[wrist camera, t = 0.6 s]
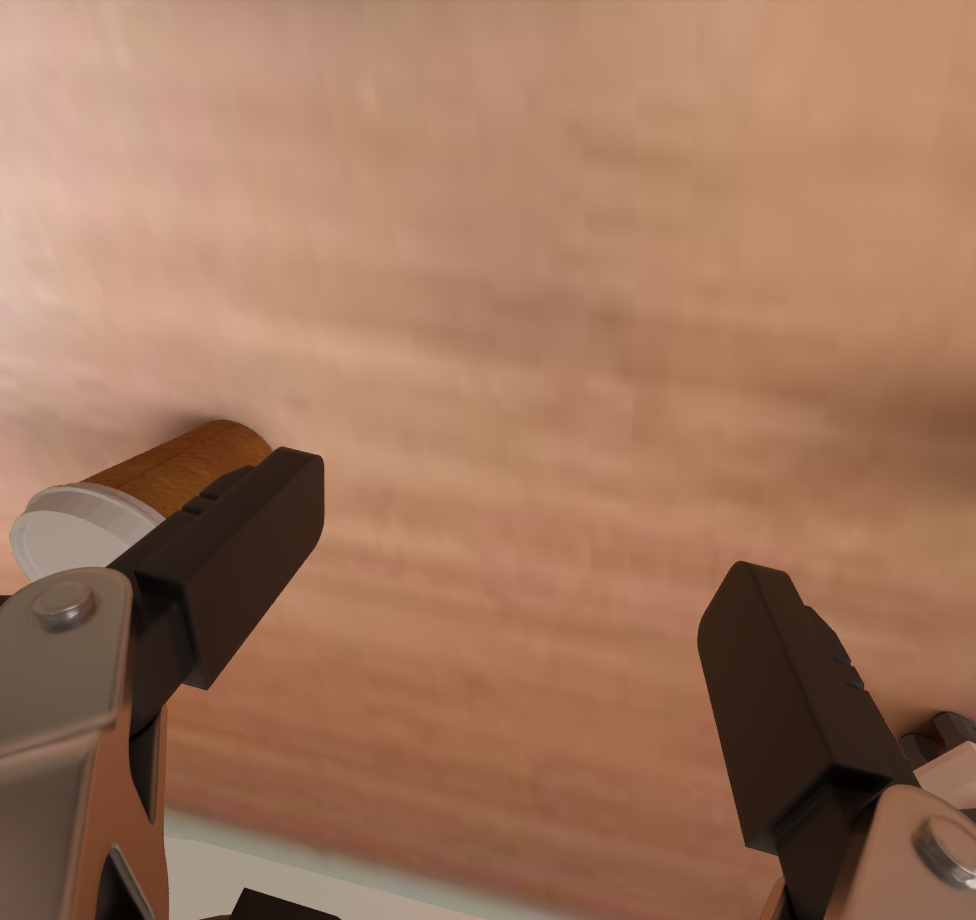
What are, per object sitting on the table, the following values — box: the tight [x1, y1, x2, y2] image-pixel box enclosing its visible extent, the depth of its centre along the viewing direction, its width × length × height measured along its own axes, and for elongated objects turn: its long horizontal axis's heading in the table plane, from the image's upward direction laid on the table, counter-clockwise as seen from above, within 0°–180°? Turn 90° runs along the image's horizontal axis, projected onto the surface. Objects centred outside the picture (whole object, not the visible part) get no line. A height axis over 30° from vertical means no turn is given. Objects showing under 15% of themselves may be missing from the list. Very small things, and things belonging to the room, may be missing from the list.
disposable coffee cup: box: [9, 420, 272, 582], centre depth 29 cm, size 10×10×12 cm
